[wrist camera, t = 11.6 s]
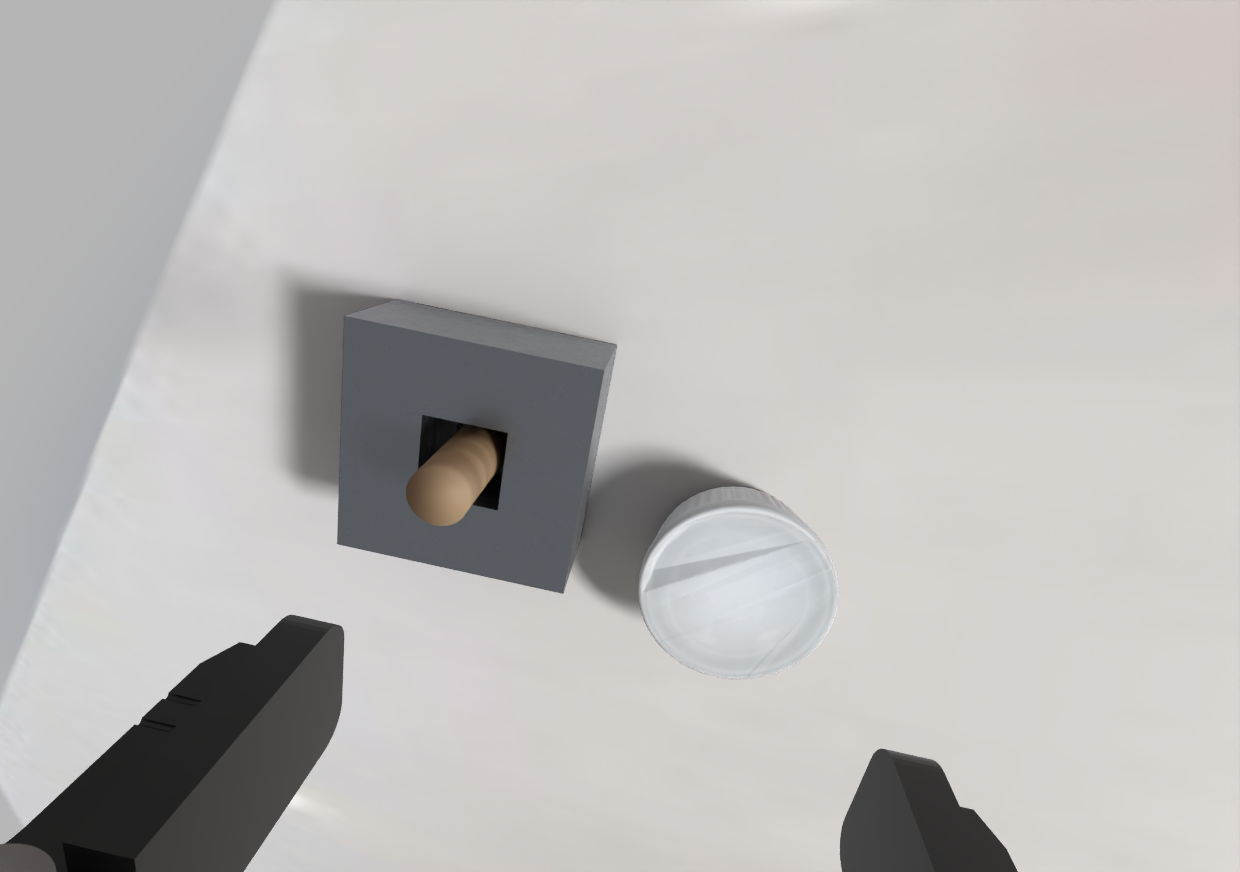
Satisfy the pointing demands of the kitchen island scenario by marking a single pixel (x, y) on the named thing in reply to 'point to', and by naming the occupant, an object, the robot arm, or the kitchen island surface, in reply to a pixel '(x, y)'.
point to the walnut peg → (456, 475)
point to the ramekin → (737, 585)
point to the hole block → (480, 396)
